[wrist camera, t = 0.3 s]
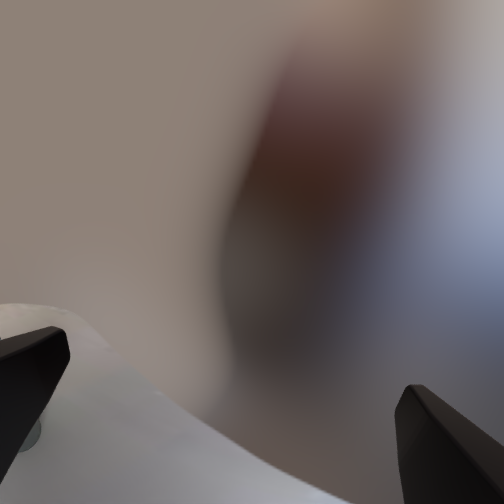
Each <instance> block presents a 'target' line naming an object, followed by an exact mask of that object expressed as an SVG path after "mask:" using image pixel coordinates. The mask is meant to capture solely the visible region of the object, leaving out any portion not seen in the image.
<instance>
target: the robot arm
mask: <svg viewBox="0 0 504 504" xmlns="http://www.w3.org/2000/svg"><path fill="white" fill-rule="evenodd" d="M69 361H70V350H69V346H68V341H67V336H66V333H65V331H64V330H63V329H60V328H57V327H54V326H50V327H46V328H43V329H39V330H35V331H32V332H28V333H25V334H21V335H17V336H14V337H10V338H7V339H3V340H0V484H1V482H2V480H3V479H4V477H5V475H6V473H7V471H8V469H9V468H10V466H11V464H12V462H13V460H14V459H15V457H16V455H17V453H18V452H19V450H20V448H21V446H22V445H23V443H24V441H25V440H26V438H27V436H28V435H29V433H30V431H31V430H32V428H33V426H34V425H35V423H36V421H37V420H38V418H39V417H40V415H41V413H42V412H43V410H44V409H45V407H46V405H47V404H48V402H49V400H50V398H51V396H52V394H53V392H54V390H55V388H56V386H57V384H58V383H59V381H60V379H61V377H62V375H63V373H64V371H65V369H66V367H67V365H68V363H69ZM395 427H396V440H397V454H398V465H399V473H400V479H401V485H402V492H403V498H404V504H504V446H502V445H501V444H500V443H499V442H497V441H496V440H494V439H493V438H492V437H491V436H489V435H488V434H486V433H485V432H484V431H483V430H481V429H480V428H479V427H477V426H476V425H475V424H474V423H472V422H471V421H470V420H468V419H467V418H466V417H464V416H463V415H461V414H460V413H459V412H457V411H456V410H455V409H454V408H452V407H451V406H450V405H448V404H447V403H446V402H445V401H443V400H442V399H441V398H439V397H438V396H437V395H435V394H434V393H433V392H431V391H430V390H429V389H428V388H426V387H425V386H423V385H408V386H407V387H406V388H405V390H404V392H403V394H402V396H401V398H400V400H399V403H398V405H397V407H396V409H395Z"/></svg>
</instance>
